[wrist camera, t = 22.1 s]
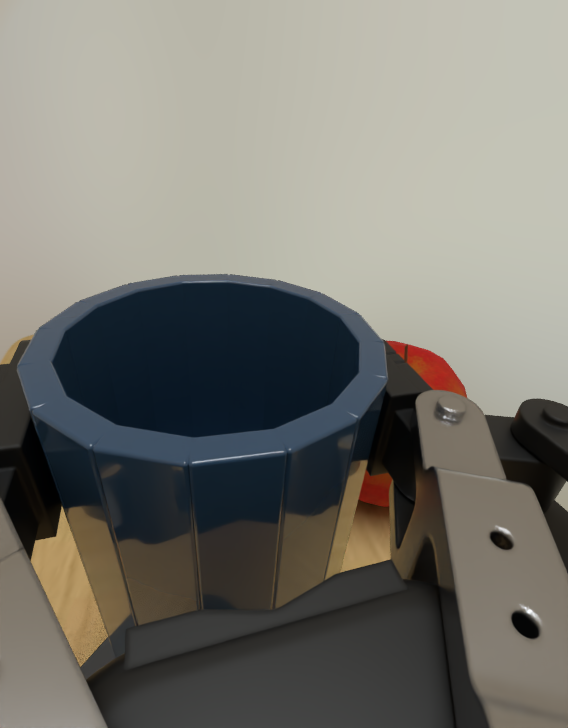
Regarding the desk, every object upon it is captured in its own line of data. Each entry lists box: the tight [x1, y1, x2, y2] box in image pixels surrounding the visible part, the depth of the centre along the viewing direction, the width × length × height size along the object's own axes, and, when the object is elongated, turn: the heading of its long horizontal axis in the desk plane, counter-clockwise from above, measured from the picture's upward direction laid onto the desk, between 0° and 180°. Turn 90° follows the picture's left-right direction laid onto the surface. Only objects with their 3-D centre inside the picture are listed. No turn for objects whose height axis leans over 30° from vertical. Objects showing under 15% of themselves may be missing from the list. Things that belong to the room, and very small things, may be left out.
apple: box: [359, 341, 467, 507], centre depth 27 cm, size 9×9×12 cm
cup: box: [17, 274, 388, 658], centre depth 10 cm, size 6×6×8 cm
